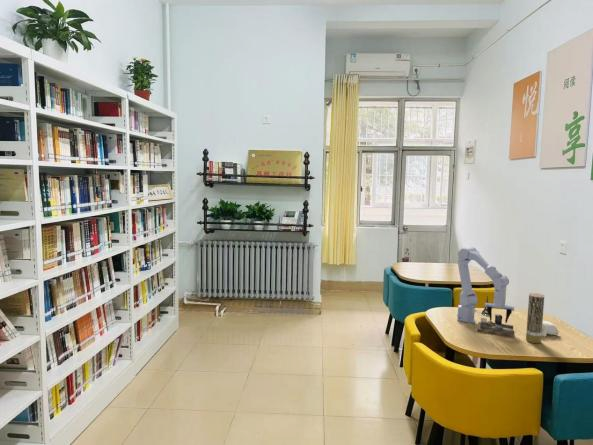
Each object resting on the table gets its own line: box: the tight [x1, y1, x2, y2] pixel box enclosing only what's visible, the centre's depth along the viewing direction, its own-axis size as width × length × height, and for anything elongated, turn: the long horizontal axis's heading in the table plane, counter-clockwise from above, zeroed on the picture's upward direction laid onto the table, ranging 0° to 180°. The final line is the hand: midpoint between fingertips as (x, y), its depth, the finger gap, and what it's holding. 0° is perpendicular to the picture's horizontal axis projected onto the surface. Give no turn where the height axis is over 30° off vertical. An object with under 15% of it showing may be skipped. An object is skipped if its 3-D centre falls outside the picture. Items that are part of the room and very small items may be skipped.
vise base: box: [476, 317, 515, 339], centre depth 224 cm, size 18×14×5 cm
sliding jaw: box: [494, 314, 503, 329], centre depth 223 cm, size 4×8×7 cm, turn 153°
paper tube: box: [525, 292, 545, 344], centre depth 208 cm, size 7×7×25 cm
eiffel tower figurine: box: [475, 294, 490, 318], centre depth 255 cm, size 15×10×13 cm
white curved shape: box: [541, 320, 560, 338], centre depth 220 cm, size 9×8×15 cm
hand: (498, 321), depth 223 cm, fingers open, 7 cm apart
